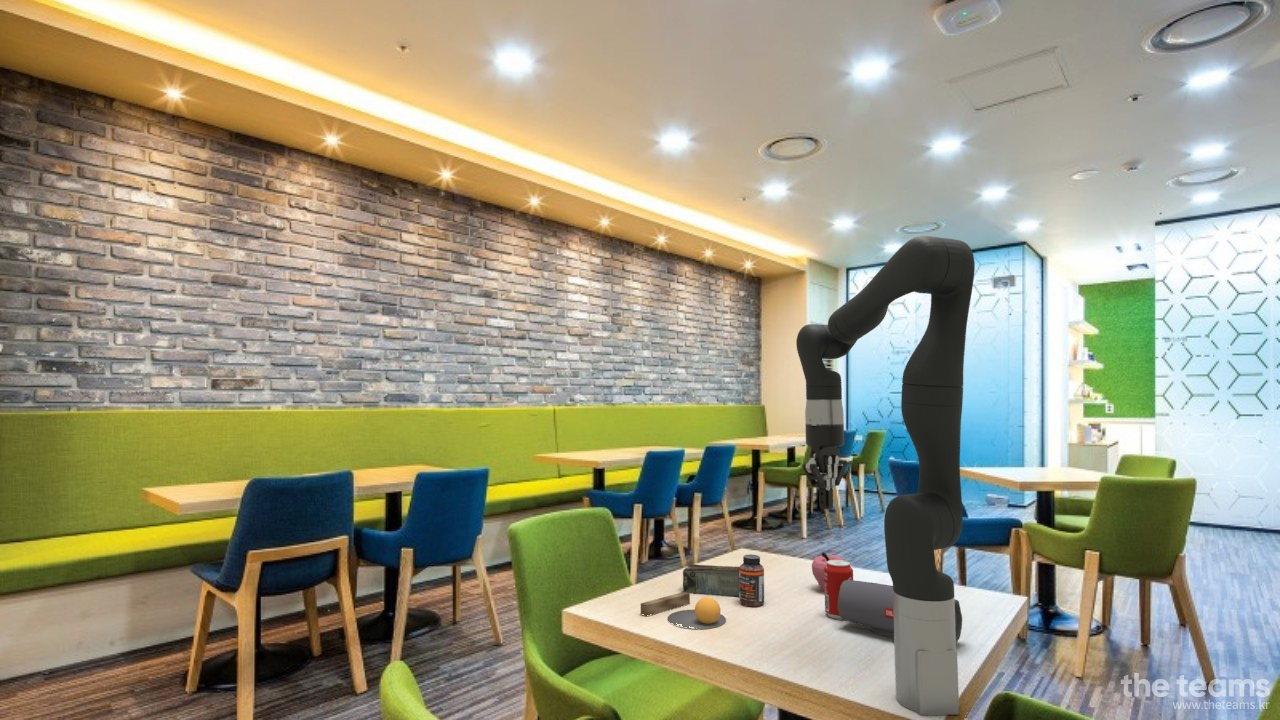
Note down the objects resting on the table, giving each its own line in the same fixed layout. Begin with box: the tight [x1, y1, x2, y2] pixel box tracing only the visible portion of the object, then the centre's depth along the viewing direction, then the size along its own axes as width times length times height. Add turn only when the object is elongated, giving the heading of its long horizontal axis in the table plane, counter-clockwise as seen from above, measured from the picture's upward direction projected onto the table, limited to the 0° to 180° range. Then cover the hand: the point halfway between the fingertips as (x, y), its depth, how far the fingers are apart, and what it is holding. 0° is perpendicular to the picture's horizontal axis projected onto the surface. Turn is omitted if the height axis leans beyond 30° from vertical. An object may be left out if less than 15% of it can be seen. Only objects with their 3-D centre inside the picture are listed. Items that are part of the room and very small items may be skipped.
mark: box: [667, 609, 727, 630], centre depth 147 cm, size 13×13×1 cm
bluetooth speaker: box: [837, 579, 963, 643], centre depth 137 cm, size 23×9×10 cm, turn 49°
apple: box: [811, 551, 845, 592], centre depth 169 cm, size 10×9×10 cm
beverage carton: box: [682, 563, 740, 598], centre depth 169 cm, size 8×19×7 cm, turn 74°
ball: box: [694, 596, 721, 624], centre depth 145 cm, size 6×6×6 cm
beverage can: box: [824, 560, 854, 621], centre depth 149 cm, size 6×6×12 cm
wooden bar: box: [640, 591, 691, 617], centre depth 155 cm, size 14×2×2 cm, turn 131°
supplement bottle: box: [738, 554, 765, 608], centre depth 159 cm, size 6×6×11 cm
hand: (826, 508), depth 133 cm, fingers closed
